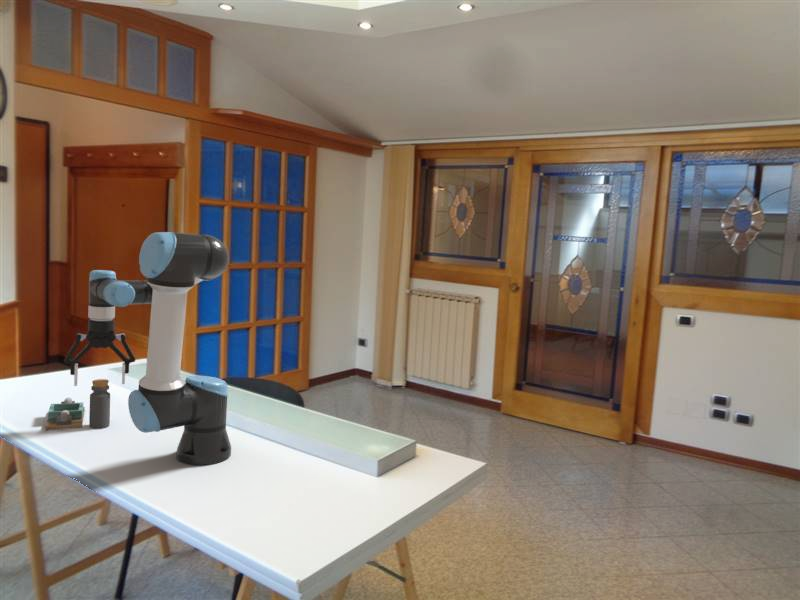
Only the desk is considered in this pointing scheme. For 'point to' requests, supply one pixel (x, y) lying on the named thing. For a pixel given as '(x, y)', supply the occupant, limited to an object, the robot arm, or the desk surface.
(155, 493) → the desk surface
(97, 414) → the bottle
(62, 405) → the block
